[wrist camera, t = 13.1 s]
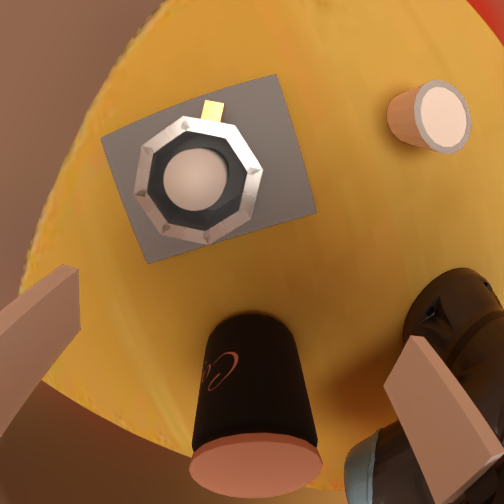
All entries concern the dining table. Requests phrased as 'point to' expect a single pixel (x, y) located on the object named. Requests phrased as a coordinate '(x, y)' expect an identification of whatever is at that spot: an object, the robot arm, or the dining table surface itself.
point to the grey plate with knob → (217, 164)
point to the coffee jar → (253, 413)
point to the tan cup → (431, 117)
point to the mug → (201, 221)
